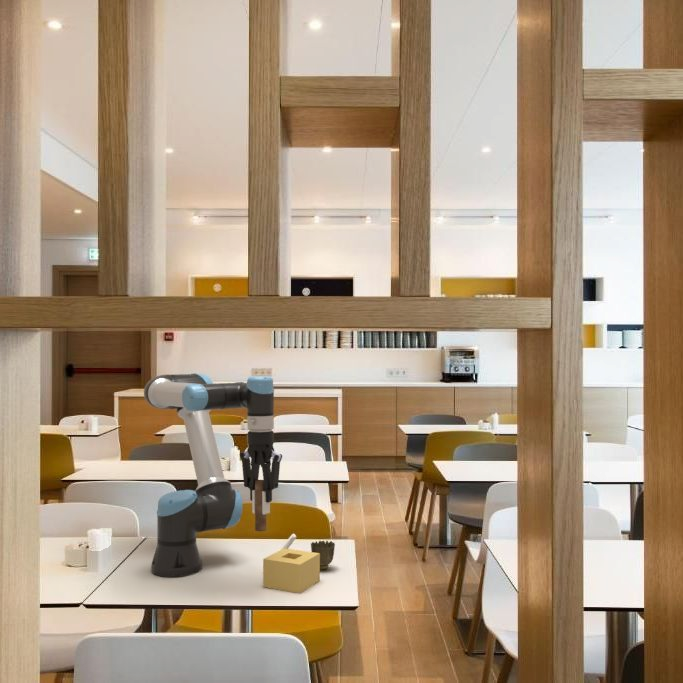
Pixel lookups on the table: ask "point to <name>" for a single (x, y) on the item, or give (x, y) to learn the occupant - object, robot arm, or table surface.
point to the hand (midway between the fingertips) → (261, 512)
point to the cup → (324, 552)
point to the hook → (289, 541)
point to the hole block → (291, 570)
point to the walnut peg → (259, 507)
